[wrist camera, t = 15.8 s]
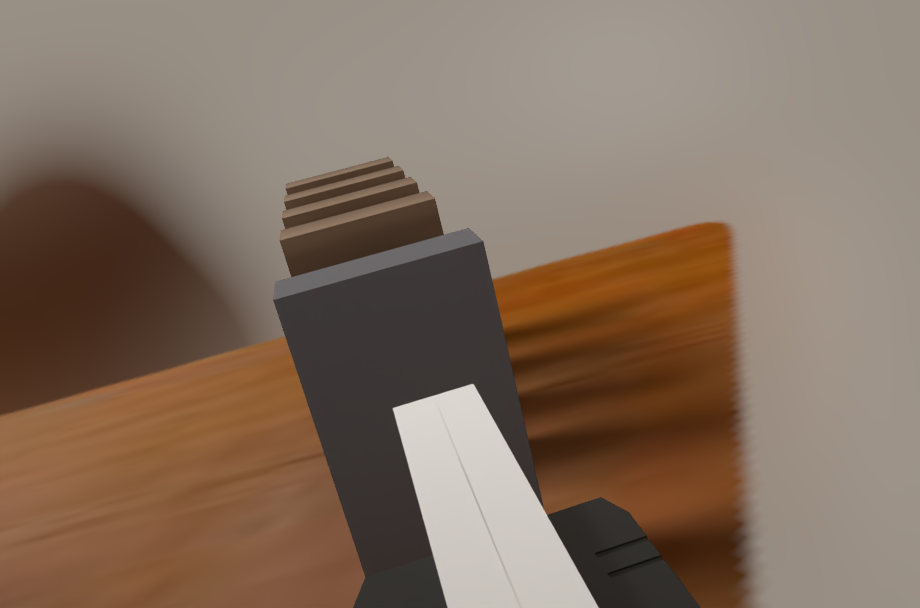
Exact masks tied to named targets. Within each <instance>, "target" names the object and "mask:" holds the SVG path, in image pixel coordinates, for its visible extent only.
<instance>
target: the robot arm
mask: <svg viewBox="0 0 920 608" xmlns="http://www.w3.org/2000/svg"><path fill="white" fill-rule="evenodd" d="M393 411H394V415H395V418H396V422H397V426H398V429H399V433H400V437H401V440H402V444H403V447H404V451H405V455H406V458H407V462H408V466H409V469H410V473H411V477H412V480H413V484H414V487H415V491H416V495H417V498H418V502H419V506H420V509H421V513H422V516H423V520H424V524H425V527H426V531H427V535H428V538H429V542H430V546H431V549H432V553H433V555H432V556H429V557H426V558H423V559H420V560H417V561H414V562H411V563H408V564H405V565H402V566H399V567H396V568H393V569H390V570H387V571H384V572H381V573H378V574H375V575H372V576H369V577H366V578H365V580H364V582H363V585H362V587H361V590H360V592H359V595H358V597H357V600H356V602H355V605H354V607H353V608H700V606H699V605H698V604H697V602H696V601H695V600H694V598H693V597H692V596H691V594H690V593H689V592H688V590H687V589H686V588H685V586H684V585H683V584H682V582H681V581H680V580H679V578H678V577H677V576H676V574H675V573H674V572H673V570H672V569H671V568H670V566H669V565H668V564H667V562H666V561H665V560H663V559H662V557H661V554H660V553H659V552H658V550H657V549H656V548H655V546H654V545H653V544H652V542H651V541H650V540H649V541H648V539H647V536H646V534H645V533H644V532H643V530H642V529H641V528H640V526H639V525H638V524H637V522H636V521H635V520H634V518H633V517H632V516H631V514H630V513H629V512H627V511H625V510H624V509H622V508H620V507H618V506H616V505H614V504H612V503H611V502H609V501H607V500H605V499H603V498H601V497H600V498H597V499H594V500H591V501H588V502H585V503H582V504H579V505H576V506H573V507H570V508H567V509H564V510H561V511H558V512H555V513H552V514H549V515H546V513H545V511H544V509H543V507H542V506H541V504H540V502H539V500H538V498H537V497H536V495H535V493H534V491H533V489H532V488H531V486H530V484H529V482H528V481H527V479H526V477H525V475H524V473H523V472H522V470H521V468H520V466H519V464H518V463H517V461H516V459H515V457H514V456H513V454H512V452H511V450H510V448H509V447H508V445H507V443H506V441H505V439H504V438H503V436H502V434H501V432H500V430H499V429H498V427H497V425H496V423H495V422H494V420H493V418H492V416H491V414H490V413H489V411H488V409H487V407H486V405H485V404H484V402H483V400H482V398H481V396H480V395H479V393H478V391H477V389H476V388H475V386H474V384H470V385H467V386H464V387H461V388H457V389H454V390H451V391H447V392H444V393H441V394H438V395H434V396H431V397H428V398H424V399H421V400H418V401H415V402H411V403H408V404H405V405H401V406H398V407H395V408H393Z"/></svg>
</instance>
